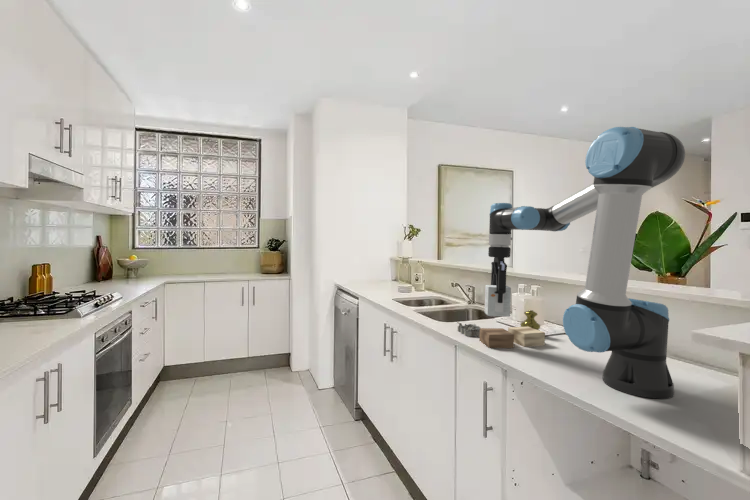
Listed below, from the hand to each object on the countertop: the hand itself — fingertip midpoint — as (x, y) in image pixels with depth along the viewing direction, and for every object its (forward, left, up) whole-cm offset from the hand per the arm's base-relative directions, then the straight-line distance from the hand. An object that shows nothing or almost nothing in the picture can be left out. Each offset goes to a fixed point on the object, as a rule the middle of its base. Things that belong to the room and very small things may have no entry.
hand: (497, 309), depth 131 cm
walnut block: (0, 0, -13) cm, 13 cm away
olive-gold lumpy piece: (+17, -17, -13) cm, 27 cm away
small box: (0, 0, -2) cm, 2 cm away
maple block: (+5, -12, -13) cm, 18 cm away
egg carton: (+14, +7, -13) cm, 21 cm away
